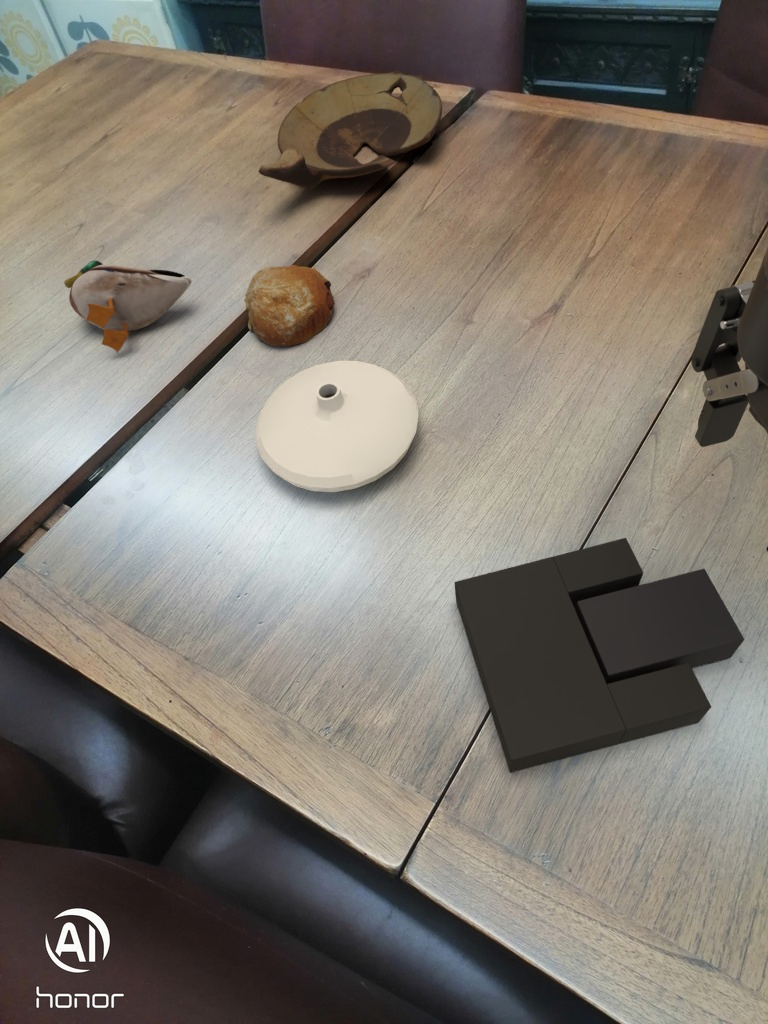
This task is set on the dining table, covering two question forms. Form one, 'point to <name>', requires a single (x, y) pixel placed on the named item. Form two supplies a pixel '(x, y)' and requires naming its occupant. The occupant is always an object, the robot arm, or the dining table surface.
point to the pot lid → (337, 426)
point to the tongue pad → (659, 626)
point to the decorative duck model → (123, 297)
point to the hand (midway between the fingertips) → (746, 492)
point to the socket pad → (564, 660)
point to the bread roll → (288, 304)
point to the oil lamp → (354, 127)
